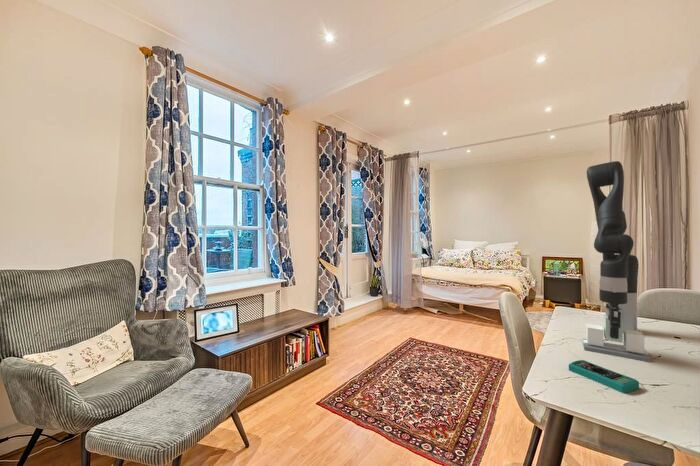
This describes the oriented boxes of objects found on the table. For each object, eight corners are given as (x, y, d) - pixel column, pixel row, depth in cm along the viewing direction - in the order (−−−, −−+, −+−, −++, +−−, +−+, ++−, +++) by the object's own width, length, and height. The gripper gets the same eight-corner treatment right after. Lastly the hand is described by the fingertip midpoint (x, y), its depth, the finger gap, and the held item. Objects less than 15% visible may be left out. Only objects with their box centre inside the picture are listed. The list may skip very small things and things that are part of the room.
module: (603, 335, 108) (603, 313, 109) (620, 338, 106) (620, 315, 106) (605, 340, 104) (605, 317, 104) (622, 342, 101) (622, 319, 101)
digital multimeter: (581, 366, 94) (581, 357, 94) (640, 390, 80) (640, 379, 80) (566, 370, 91) (566, 361, 91) (624, 395, 77) (624, 384, 77)
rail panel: (582, 341, 114) (582, 321, 114) (643, 352, 104) (643, 330, 104) (584, 349, 106) (584, 328, 106) (650, 362, 96) (650, 338, 96)
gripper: (597, 285, 113) (597, 328, 113) (601, 291, 101) (601, 339, 101) (623, 287, 109) (623, 332, 109) (631, 293, 97) (631, 344, 97)
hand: (613, 335), depth 105 cm, fingers closed on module, 5 cm apart
